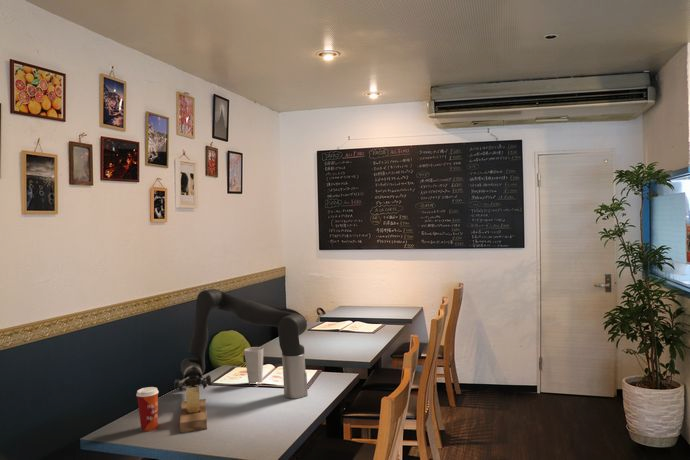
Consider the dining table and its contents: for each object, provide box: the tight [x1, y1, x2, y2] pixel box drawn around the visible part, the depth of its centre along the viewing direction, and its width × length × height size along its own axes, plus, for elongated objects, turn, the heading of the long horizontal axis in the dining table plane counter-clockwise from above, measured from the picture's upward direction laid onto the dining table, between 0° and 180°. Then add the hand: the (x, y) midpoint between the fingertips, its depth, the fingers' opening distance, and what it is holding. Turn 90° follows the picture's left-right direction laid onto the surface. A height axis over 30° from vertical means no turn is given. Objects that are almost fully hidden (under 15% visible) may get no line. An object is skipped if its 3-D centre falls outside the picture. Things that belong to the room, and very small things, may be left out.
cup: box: [243, 346, 264, 384], centre depth 254 cm, size 8×8×16 cm
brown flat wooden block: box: [179, 398, 208, 433], centre depth 212 cm, size 9×24×4 cm, turn 15°
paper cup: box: [135, 386, 160, 432], centre depth 205 cm, size 8×8×14 cm
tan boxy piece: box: [185, 386, 201, 414], centre depth 212 cm, size 5×7×11 cm, turn 15°
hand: (192, 387), depth 222 cm, fingers open, 8 cm apart
